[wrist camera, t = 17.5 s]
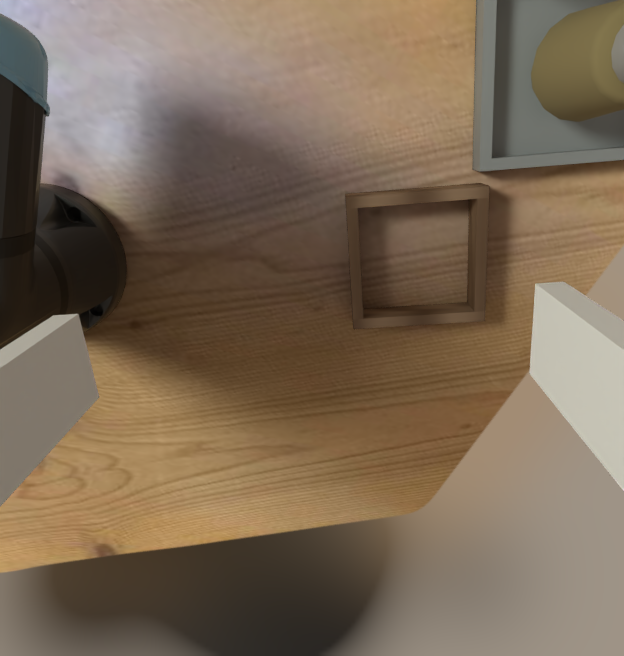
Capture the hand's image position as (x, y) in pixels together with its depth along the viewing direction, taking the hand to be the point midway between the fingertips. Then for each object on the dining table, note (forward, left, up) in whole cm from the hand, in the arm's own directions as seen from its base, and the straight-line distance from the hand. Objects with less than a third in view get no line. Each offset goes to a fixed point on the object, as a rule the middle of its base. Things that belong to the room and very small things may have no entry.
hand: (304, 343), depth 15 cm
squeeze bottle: (+21, +9, -36) cm, 43 cm away
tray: (+21, +9, -37) cm, 43 cm away
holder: (+8, -6, -37) cm, 38 cm away
